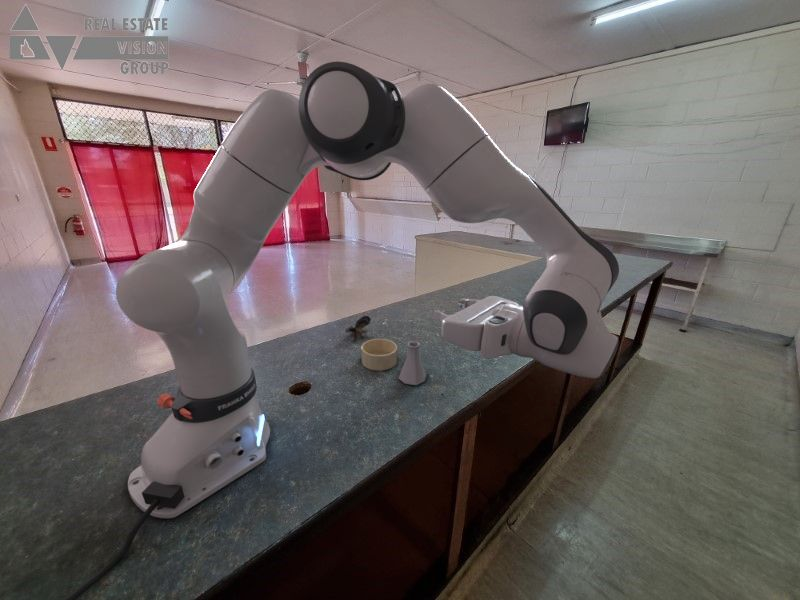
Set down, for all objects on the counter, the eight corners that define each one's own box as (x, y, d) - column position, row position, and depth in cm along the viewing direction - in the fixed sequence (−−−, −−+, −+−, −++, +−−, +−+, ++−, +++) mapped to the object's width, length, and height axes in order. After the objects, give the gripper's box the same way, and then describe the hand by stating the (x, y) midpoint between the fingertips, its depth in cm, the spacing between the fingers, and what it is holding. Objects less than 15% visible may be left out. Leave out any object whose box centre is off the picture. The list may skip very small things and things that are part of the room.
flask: (430, 375, 84) (433, 342, 80) (417, 389, 78) (419, 354, 75) (407, 367, 87) (408, 334, 84) (393, 379, 82) (393, 345, 78)
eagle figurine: (371, 340, 99) (376, 323, 107) (358, 323, 96) (363, 308, 104) (352, 349, 102) (358, 332, 110) (339, 333, 99) (345, 317, 107)
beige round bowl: (384, 374, 84) (384, 359, 82) (354, 363, 88) (354, 349, 87) (403, 357, 92) (403, 344, 90) (374, 348, 97) (374, 335, 95)
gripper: (534, 298, 65) (473, 283, 73) (488, 329, 50) (419, 305, 58) (528, 326, 67) (470, 308, 75) (483, 363, 52) (418, 336, 61)
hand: (448, 307), depth 67 cm, fingers open, 8 cm apart
